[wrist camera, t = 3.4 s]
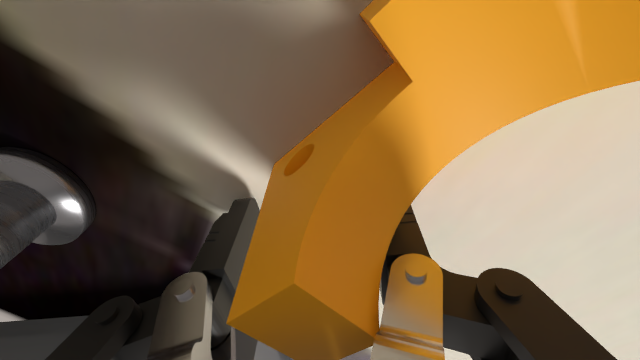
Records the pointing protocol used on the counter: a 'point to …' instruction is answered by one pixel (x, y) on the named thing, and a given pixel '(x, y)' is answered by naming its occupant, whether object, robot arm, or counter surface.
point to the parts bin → (47, 334)
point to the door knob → (39, 202)
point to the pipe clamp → (409, 150)
